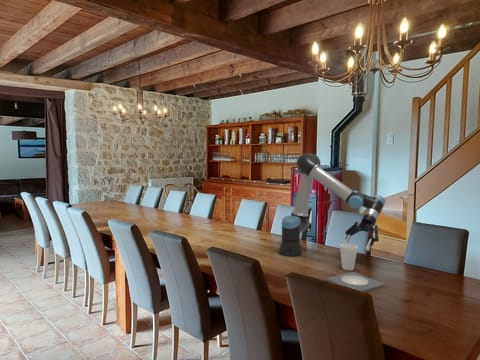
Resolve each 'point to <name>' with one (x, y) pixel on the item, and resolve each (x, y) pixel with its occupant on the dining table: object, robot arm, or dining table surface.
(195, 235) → the dining table surface
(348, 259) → the foam cup
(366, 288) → the grey square plate
